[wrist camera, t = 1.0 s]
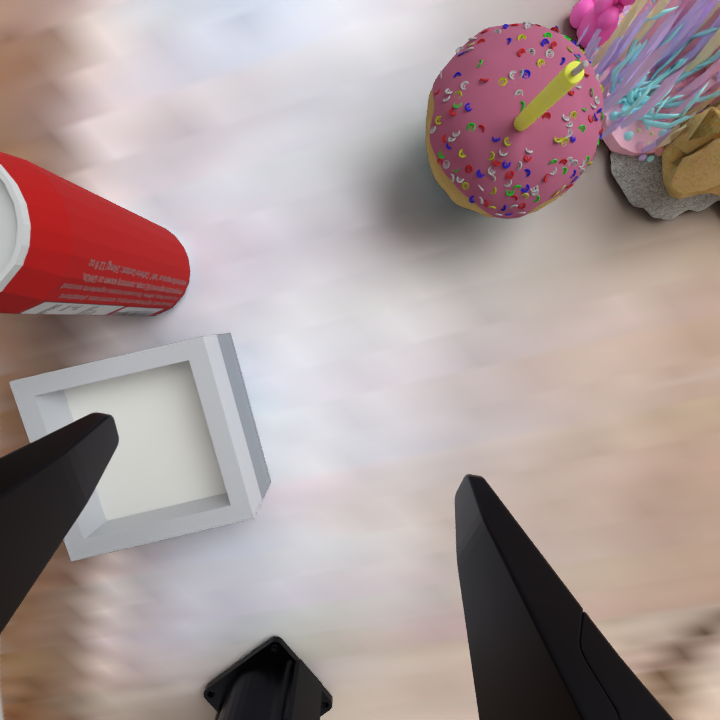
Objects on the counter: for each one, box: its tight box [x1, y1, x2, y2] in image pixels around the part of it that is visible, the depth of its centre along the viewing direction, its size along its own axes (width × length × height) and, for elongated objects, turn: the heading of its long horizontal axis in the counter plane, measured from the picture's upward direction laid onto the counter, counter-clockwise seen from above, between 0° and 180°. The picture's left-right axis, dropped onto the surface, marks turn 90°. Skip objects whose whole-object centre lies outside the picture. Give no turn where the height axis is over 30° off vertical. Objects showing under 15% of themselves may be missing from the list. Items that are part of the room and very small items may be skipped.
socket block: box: [9, 333, 271, 561], centre depth 22 cm, size 10×10×4 cm
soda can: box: [0, 152, 190, 316], centre depth 17 cm, size 6×6×12 cm
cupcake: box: [426, 22, 604, 219], centre depth 17 cm, size 9×8×12 cm
